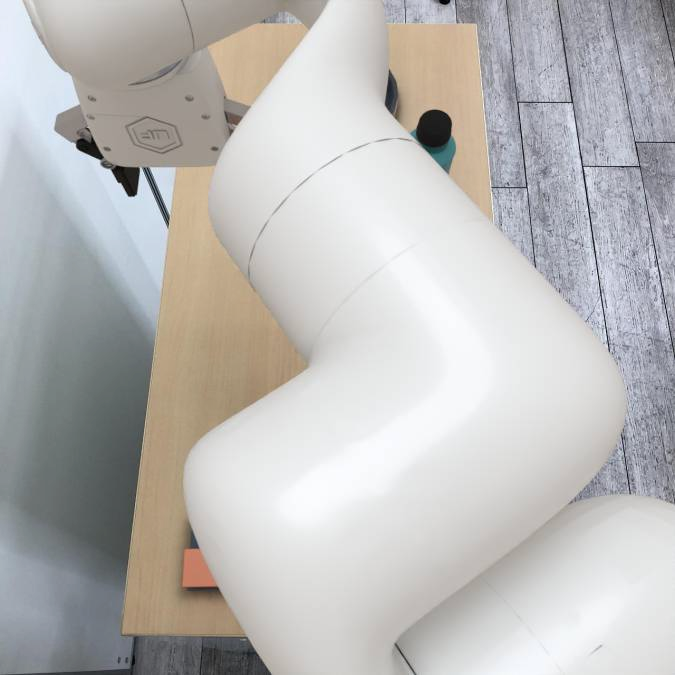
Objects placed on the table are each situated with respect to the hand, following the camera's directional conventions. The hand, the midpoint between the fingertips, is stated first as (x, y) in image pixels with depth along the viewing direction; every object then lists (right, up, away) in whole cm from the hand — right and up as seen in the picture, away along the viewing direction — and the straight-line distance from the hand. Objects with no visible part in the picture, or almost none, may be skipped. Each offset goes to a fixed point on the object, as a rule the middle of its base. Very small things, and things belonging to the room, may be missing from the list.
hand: (188, 183), depth 57 cm
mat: (0, -40, +17) cm, 44 cm away
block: (-2, -41, +16) cm, 44 cm away
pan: (+14, +22, +41) cm, 48 cm away
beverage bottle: (+25, +4, +34) cm, 42 cm away
